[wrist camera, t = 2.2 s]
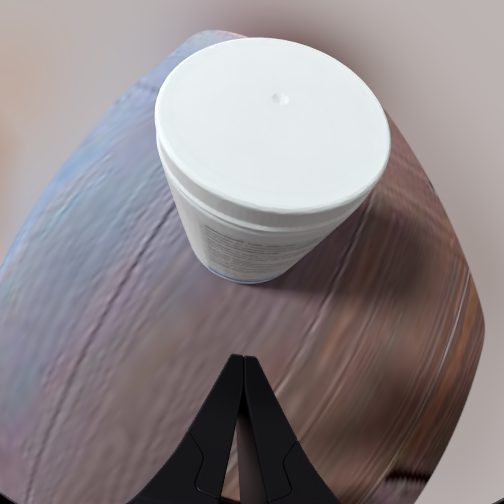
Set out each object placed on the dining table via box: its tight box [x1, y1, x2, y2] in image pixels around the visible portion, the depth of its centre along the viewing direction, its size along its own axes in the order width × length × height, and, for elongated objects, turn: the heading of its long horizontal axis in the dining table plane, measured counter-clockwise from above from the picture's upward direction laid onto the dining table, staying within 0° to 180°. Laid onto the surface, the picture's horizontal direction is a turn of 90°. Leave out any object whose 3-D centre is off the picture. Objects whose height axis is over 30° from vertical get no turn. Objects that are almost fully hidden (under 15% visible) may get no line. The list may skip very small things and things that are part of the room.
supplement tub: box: [155, 38, 391, 284], centre depth 16 cm, size 10×10×15 cm
